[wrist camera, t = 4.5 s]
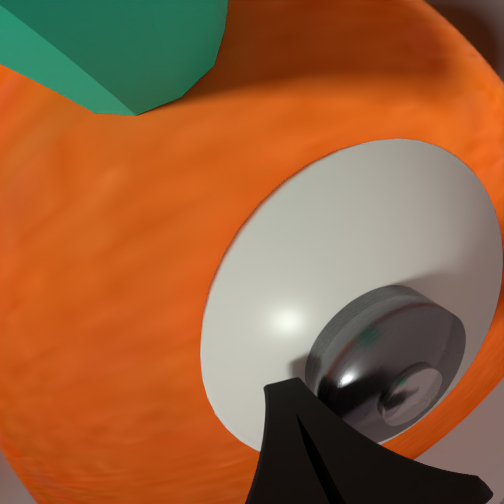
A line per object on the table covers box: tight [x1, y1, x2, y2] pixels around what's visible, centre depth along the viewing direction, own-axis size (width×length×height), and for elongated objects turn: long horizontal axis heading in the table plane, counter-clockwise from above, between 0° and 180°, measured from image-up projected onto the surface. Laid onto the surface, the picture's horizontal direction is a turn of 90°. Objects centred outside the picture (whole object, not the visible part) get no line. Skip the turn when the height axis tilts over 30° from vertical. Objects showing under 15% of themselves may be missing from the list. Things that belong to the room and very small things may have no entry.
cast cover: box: [305, 285, 466, 443], centre depth 8 cm, size 6×6×3 cm
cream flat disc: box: [200, 139, 503, 451], centre depth 10 cm, size 16×16×1 cm
